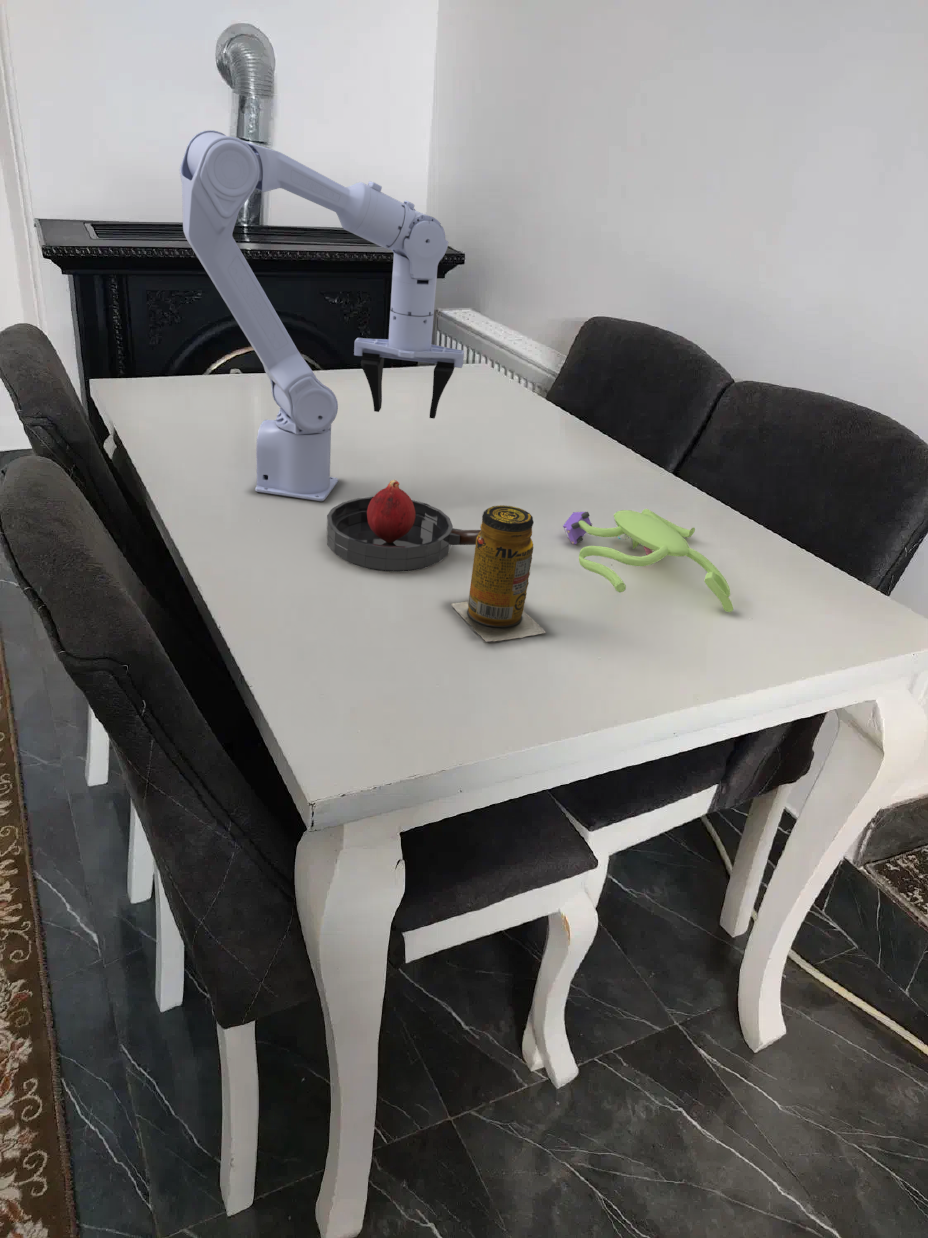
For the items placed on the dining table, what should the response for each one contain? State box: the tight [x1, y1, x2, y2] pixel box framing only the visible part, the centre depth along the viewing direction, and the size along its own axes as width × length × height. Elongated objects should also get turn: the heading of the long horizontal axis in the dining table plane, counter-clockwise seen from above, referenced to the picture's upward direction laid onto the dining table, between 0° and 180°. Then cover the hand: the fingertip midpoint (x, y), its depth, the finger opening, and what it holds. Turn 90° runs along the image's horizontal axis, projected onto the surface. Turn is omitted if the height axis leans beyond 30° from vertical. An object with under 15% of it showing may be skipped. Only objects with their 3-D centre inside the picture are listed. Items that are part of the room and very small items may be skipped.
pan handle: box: [449, 527, 481, 546], centre depth 110 cm, size 10×2×3 cm, turn 82°
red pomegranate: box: [367, 479, 415, 543], centre depth 110 cm, size 6×6×8 cm
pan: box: [326, 496, 454, 573], centre depth 112 cm, size 15×15×3 cm
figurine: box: [562, 508, 734, 613], centre depth 113 cm, size 18×27×6 cm
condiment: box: [450, 504, 547, 643], centre depth 96 cm, size 7×8×12 cm
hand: (405, 412), depth 127 cm, fingers open, 7 cm apart
